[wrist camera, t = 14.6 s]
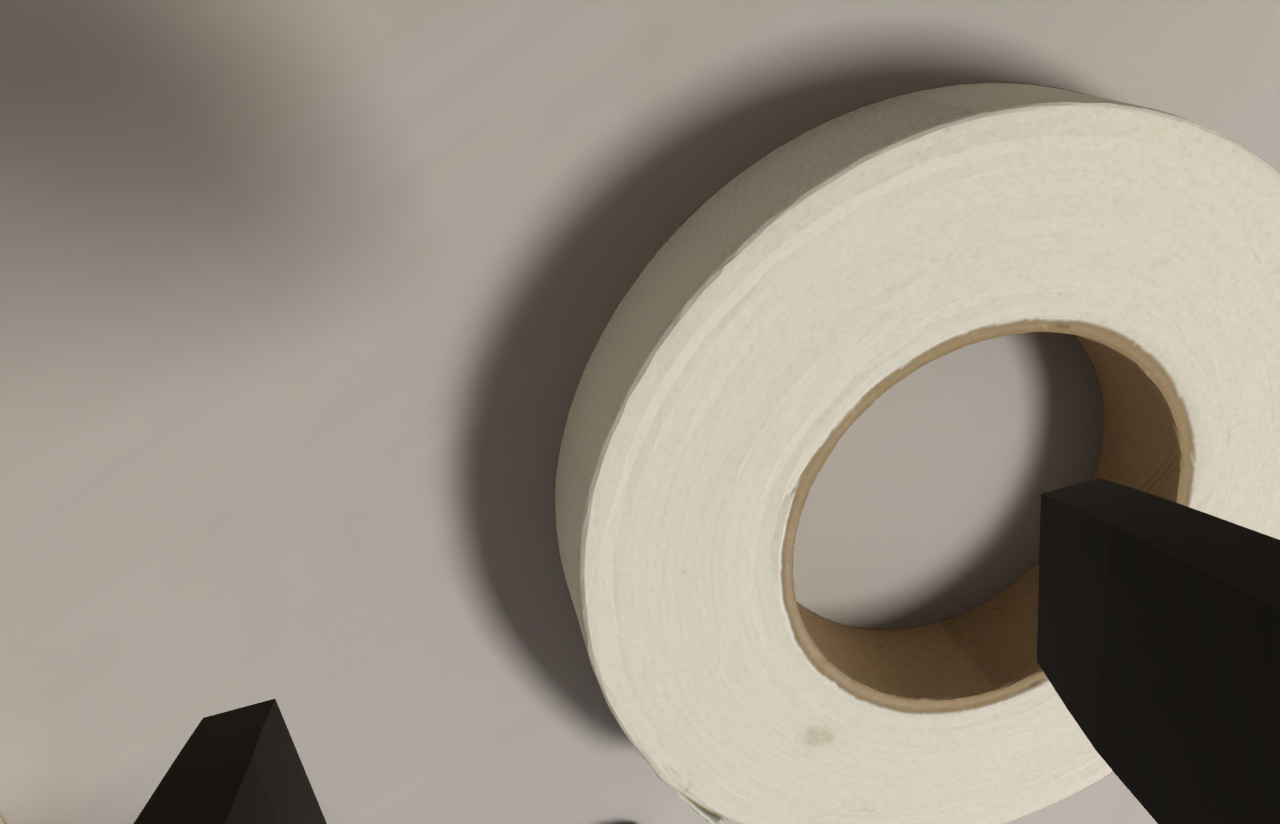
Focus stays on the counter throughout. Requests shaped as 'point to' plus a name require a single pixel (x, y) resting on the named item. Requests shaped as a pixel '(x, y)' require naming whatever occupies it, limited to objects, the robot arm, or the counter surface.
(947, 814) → the roll of tape
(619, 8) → the counter surface
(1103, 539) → the robot arm
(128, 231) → the counter surface
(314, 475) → the counter surface
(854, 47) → the counter surface
